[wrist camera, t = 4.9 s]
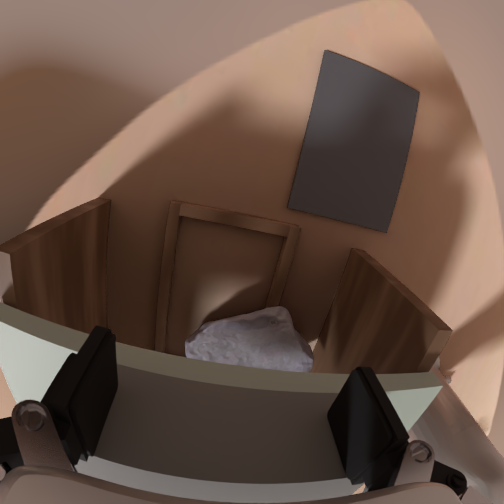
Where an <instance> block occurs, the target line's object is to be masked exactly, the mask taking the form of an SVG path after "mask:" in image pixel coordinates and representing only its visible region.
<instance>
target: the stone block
mask: <svg viewBox="0 0 504 504" xmlns="http://www.w3.org/2000/svg"><path fill="white" fill-rule="evenodd" d="M185 352H186V356H187V358H192V359H198V360H204V361H210V362H216V363H223V364H230V365H237V366H245V367H253V368H262V369H272V370H282V371H295V372H310V371H311V369H312V367H313V364H314V356H313V353H312V350H311V347H310V345H309V344H308V343H307V341H305V340H304V338H303V337H302V336H301V335H300V334H299V333H298V332H297V331H296V330H295V329H294V325H293V321H292V318H291V316H290V313H289V311H288V310H287V309H286V308H285V307H281V306H276V307H270V308H265V309H263V310H258V311H255V312H252V313H249V314H242V315H238V316H233V317H229V318H224V319H221V320H217V321H210V322H206V323H204V324H203V325H202V326H201V327H200V328H199V329H198V330H197V331H196V332H195V333H194V334H192V335H191V336H190V337H188V338H187V339H186V341H185Z"/></svg>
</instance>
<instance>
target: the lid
mask: <svg viewBox="0 0 504 504" xmlns="http://www.w3.org/2000/svg"><path fill="white" fill-rule="evenodd" d="M88 336H89V334H87V333H84V332H80V331H77V330H74V329H71V328H68V327H65V326H62V325H59V324H56V323H53V322H50V321H47V320H44V319H42V318H39V317H36V316H34V315H31V314H28V313H26V312H23V311H21V310H18V309H16V308H13V307H11V306H8V305H6V304H4V303H1V302H0V366H1V369H2V371H3V374H4V376H5V379H6V381H7V384H8V386H9V388H10V390H11V393H12V395H13V397H14V399H15V401H16V403H17V404H18V403H19V402H21V401H24V400H36V401H39V402H40V401H41V400H42V398H43V396H44V395H45V393H46V391H47V389H48V388H49V386H50V384H51V383H52V381H53V380H54V378H55V376H56V375H57V373H58V371H59V370H60V368H61V367H62V365H63V364H64V362H65V360H66V359H67V357H68V356H69V355H70V354H71V353H76V354H77V353H78V352H79V350H80V348H81V347H82V345H83V344H84V342H85V341H86V339H87V338H88ZM116 360H117V374H118V389H117V392H116V395H115V397H114V400H113V403H112V405H111V408H110V411H109V413H108V416H107V419H106V421H105V424H104V427H103V430H102V433H101V436H100V439H99V442H98V444H97V447H96V450H95V453H94V456H93V457H91V456H89V457H88V460H87V462H85V461H83V460H80V459H79V462H78V464H77V465H75V467H76V469H77V471H78V473H81V474H85V475H88V476H91V477H95V478H98V479H102V480H106V481H109V482H112V483H116V484H120V485H123V486H127V487H131V488H136V489H140V490H145V491H149V492H154V493H159V494H164V495H170V496H176V497H182V498H189V499H197V500H206V501H218V502H233V503H285V502H301V501H312V500H321V499H329V498H336V497H343V496H349V495H351V494H352V493H354V492H355V491H356V490H357V489H358V488H360V487H361V486H362V485H363V484H364V483H362V484H357V485H352V484H351V481H350V480H349V479H348V478H347V477H346V474H345V471H344V468H343V464H342V461H341V458H340V455H339V452H338V449H337V446H336V443H335V440H334V437H333V434H332V431H331V427H330V424H329V421H328V418H327V413H328V410H329V409H330V407H331V405H332V404H333V402H334V401H335V399H336V397H337V396H338V394H339V392H340V391H341V389H342V387H343V385H344V384H345V382H346V380H347V378H348V377H349V375H350V374H329V373H309V372H295V371H282V370H272V369H262V368H253V367H245V366H237V365H230V364H223V363H216V362H210V361H204V360H198V359H192V358H187V357H181V356H176V355H171V354H166V353H162V352H157V351H152V350H148V349H144V348H139V347H135V346H131V345H127V344H123V343H119V342H116ZM375 375H376V376H377V378H378V380H379V382H380V383H381V385H382V387H383V389H384V391H385V392H386V394H387V396H388V398H389V399H390V401H391V403H392V405H393V407H394V408H395V410H396V412H397V414H398V416H399V418H400V419H401V421H402V423H403V425H404V427H405V429H406V431H407V432H408V431H409V430H410V428H411V427H412V426H413V425H414V424H415V422H416V421H417V420H418V419H419V417H420V416H421V415H422V414H423V412H424V411H425V410H426V409H427V407H428V406H429V405H430V403H431V402H432V401H433V399H434V398H435V397H436V395H437V394H438V392H439V391H440V390H441V388H442V387H443V385H442V383H441V382H440V381H439V379H438V378H437V377H436V375H435V374H434V373H433V372H422V373H403V374H375Z"/></svg>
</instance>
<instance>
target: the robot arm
mask: <svg viewBox="0 0 504 504" xmlns="http://www.w3.org/2000/svg"><path fill="white" fill-rule="evenodd" d="M439 367H440V358H439V356H438V358H437V360H436V361H435V363H434V365H433V366H432V368H431V369H430V371H429V372H433V373H434V374H435V375H436V377H437V378H438V379H439V381H440V382H441V383H442V385H443V387H442V388H441V390H440V391H439V392H438V394H437V395H436V397H435V398H434V399H433V401H432V402H431V403H430V405H429V406H428V407H427V409H426V410H425V411H424V412H423V414H422V415H421V416H420V417H419V419H418V420H417V421H416V422H415V424H414V425H413V426H412V427H411V428H410V430H409V431H408V432H407V431H406V429H405V427H404V425H403V423H402V421H401V419H400V418H399V416H398V414H397V412H396V410H395V408H394V407H393V405H392V403H391V401H390V399H389V398H388V396H387V394H386V392H385V391H384V389H383V387H382V385H381V383H380V382H379V380H378V378H377V376H376V375H375V373H374V371H373V369H372V368H371V367H356V368H355V370H352V371H351V373H350V375H349V377H348V378H347V380H346V382H345V384H344V385H343V387H342V389H341V391H340V392H339V394H338V396H337V397H336V399H335V401H334V402H333V404H332V405H331V407H330V409H329V410H328V413H327V418H328V421H329V424H330V427H331V431H332V434H333V437H334V440H335V443H336V446H337V449H338V452H339V455H340V458H341V461H342V464H343V468H344V471H345V474H346V477H347V478H348V479H349V480H350V481H351V484H352V485H357V484H362V483H365V485H366V487H365V489H364V491H363V493H359V494H354V495H349V496H343V497H336V498H329V499H321V500H312V501H301V502H285V503H233V502H218V501H206V500H197V499H189V498H182V497H176V496H170V495H164V494H159V493H154V492H149V491H145V490H140V489H136V488H131V487H127V486H123V485H120V484H116V483H112V482H109V481H106V480H102V479H98V478H95V477H91V476H88V475H85V474H81V473H78V471H77V469H76V467H75V465H77V464H78V462H79V459H80V460H83V461H85V462H87V460H88V457H89V456H91V457H93V456H94V453H95V450H96V447H97V444H98V442H99V439H100V436H101V433H102V430H103V427H104V424H105V421H106V419H107V416H108V413H109V411H110V408H111V405H112V403H113V400H114V397H115V395H116V392H117V389H118V374H117V360H116V339H115V334H113V333H111V329H109V328H105V327H102V326H98V325H96V326H95V327H94V328H93V330H92V331H91V333H90V334H89V336H88V338H87V339H86V341H85V342H84V344H83V345H82V347H81V348H80V350H79V352H78V353H77V354H76V353H71V354H70V355H69V356H68V357H67V359H66V360H65V362H64V364H63V365H62V367H61V368H60V370H59V371H58V373H57V375H56V376H55V378H54V380H53V381H52V383H51V384H50V386H49V388H48V389H47V391H46V393H45V395H44V396H43V398H42V400H41V401H40V402H39V401H36V400H24V401H21V402H19V403H18V404H16V406H15V407H14V408H13V411H12V417H7V418H3V419H0V504H504V458H503V456H502V455H501V454H500V453H499V452H498V451H497V450H496V448H495V447H494V445H493V444H492V443H491V441H490V440H489V439H488V437H487V436H486V435H485V433H484V432H483V430H482V429H481V428H480V426H479V425H478V423H477V422H476V421H475V419H474V418H473V416H472V415H471V414H470V412H469V411H468V409H467V408H466V407H465V405H464V404H463V403H462V401H461V400H460V399H459V397H458V396H457V395H456V393H455V392H454V391H453V389H452V388H451V387H450V385H449V383H450V382H451V377H450V376H445V377H444V376H443V375H442V373H441V372H440V371H439Z"/></svg>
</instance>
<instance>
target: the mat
mask: <svg viewBox="0 0 504 504" xmlns="http://www.w3.org/2000/svg"><path fill="white" fill-rule="evenodd" d="M418 99H419V92H418V91H417V90H415V89H413V88H411V87H409V86H407V85H406V84H404V83H402V82H400V81H398V80H396V79H394V78H392V77H390V76H388V75H386V74H383V73H381V72H379V71H377V70H375V69H372V68H370V67H368V66H366V65H363V64H361V63H359V62H356V61H354V60H351V59H349V58H346V57H343V56H341V55H338V54H335V53H333V52H330V51H327V50H325V51H324V55H323V59H322V64H321V68H320V73H319V77H318V82H317V86H316V90H315V95H314V99H313V103H312V108H311V112H310V116H309V120H308V125H307V129H306V133H305V137H304V141H303V146H302V150H301V154H300V158H299V162H298V166H297V170H296V174H295V178H294V182H293V186H292V190H291V194H290V198H289V202H288V206H287V207H288V208H290V209H295V210H299V211H303V212H307V213H312V214H316V215H320V216H324V217H328V218H332V219H336V220H340V221H344V222H347V223H351V224H355V225H359V226H363V227H366V228H370V229H374V230H377V231H381V232H385V233H387V230H388V227H389V224H390V220H391V217H392V214H393V210H394V207H395V204H396V200H397V196H398V193H399V189H400V185H401V182H402V178H403V174H404V170H405V165H406V161H407V157H408V152H409V148H410V143H411V138H412V133H413V128H414V123H415V117H416V112H417V106H418Z"/></svg>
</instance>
